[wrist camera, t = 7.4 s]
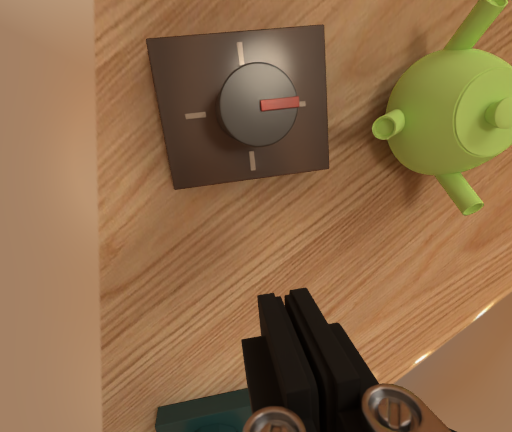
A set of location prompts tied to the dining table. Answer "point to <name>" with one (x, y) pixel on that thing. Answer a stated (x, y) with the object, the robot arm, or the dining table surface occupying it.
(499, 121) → the teapot
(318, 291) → the dining table surface
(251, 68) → the dial
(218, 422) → the button housing
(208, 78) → the dial panel
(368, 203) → the dining table surface
